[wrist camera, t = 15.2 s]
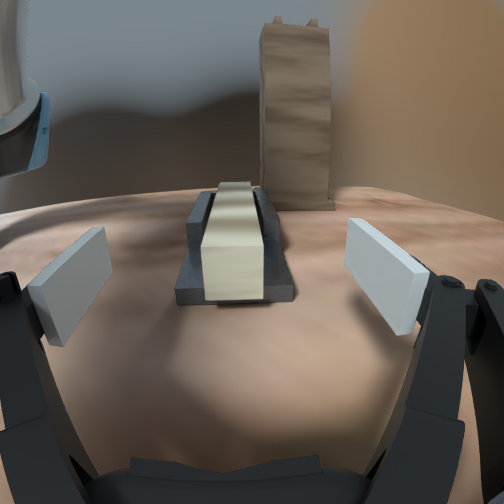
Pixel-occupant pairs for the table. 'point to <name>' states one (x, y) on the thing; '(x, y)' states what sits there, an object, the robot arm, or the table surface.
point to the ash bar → (233, 246)
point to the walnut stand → (295, 115)
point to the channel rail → (274, 265)
